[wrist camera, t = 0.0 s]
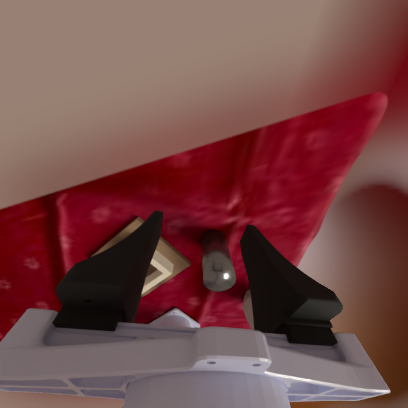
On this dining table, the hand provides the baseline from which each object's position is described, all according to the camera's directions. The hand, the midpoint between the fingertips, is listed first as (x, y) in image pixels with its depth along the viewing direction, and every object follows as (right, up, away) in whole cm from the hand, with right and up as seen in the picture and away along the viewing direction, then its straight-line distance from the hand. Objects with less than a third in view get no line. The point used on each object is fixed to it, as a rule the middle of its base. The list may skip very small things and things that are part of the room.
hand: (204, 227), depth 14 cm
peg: (+2, -4, +13) cm, 14 cm away
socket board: (-11, -8, +14) cm, 20 cm away
